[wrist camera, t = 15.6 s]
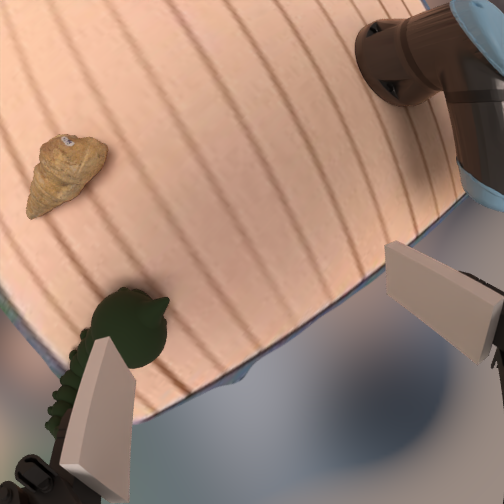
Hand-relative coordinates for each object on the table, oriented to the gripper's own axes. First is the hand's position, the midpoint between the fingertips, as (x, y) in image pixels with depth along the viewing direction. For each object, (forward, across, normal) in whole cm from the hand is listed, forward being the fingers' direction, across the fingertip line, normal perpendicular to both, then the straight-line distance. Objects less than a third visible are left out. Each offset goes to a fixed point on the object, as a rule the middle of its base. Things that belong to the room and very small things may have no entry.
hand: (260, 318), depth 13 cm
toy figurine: (+27, -18, -12) cm, 34 cm away
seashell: (+27, -16, +10) cm, 33 cm away
